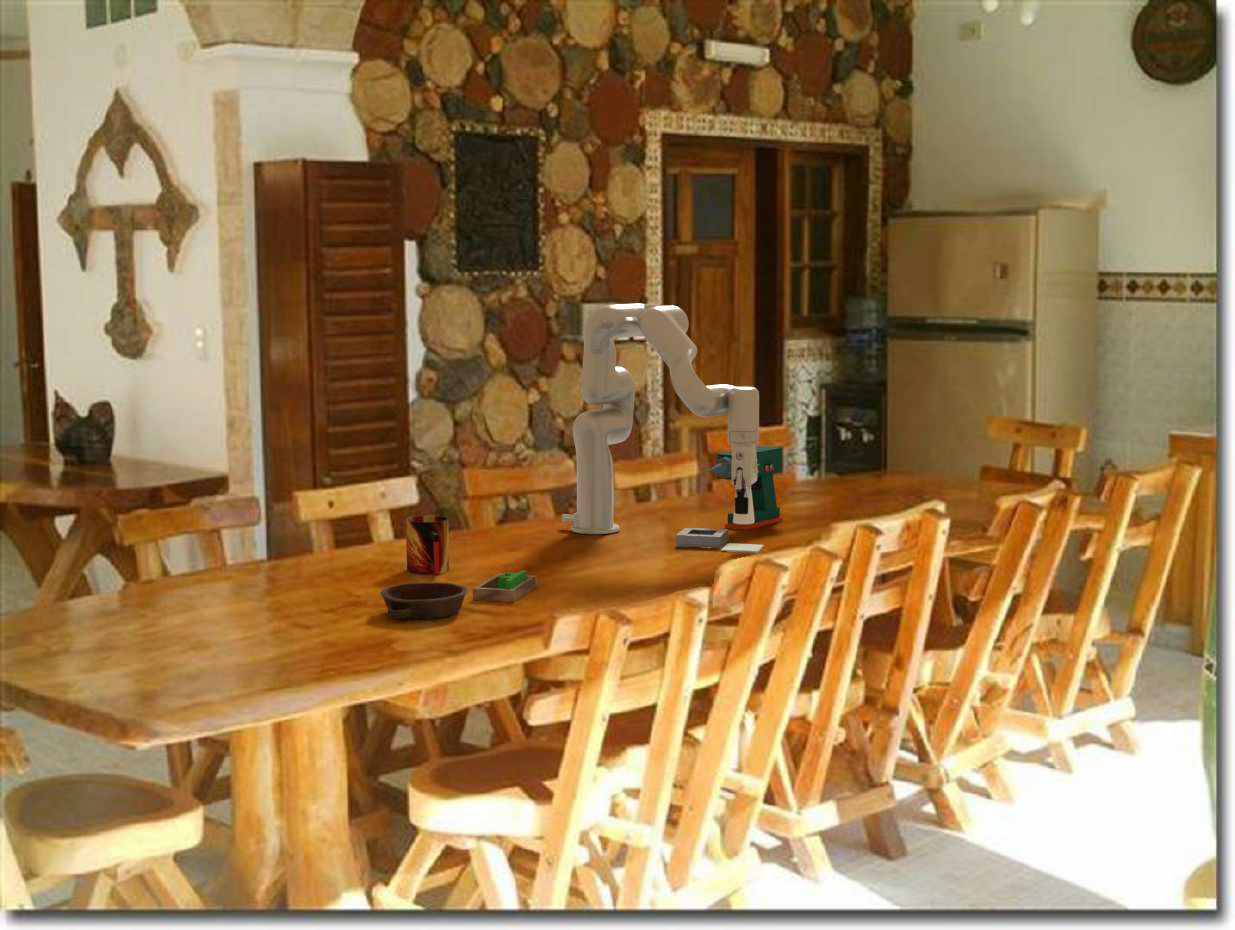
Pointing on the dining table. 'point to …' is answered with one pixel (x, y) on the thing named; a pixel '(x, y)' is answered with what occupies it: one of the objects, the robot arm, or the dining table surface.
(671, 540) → the dining table surface
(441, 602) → the dish
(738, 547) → the pad
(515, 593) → the tray
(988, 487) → the dining table surface
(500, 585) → the green bumpy block
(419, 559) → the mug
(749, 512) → the pepper shaker
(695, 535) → the block
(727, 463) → the power tool
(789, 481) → the dining table surface
